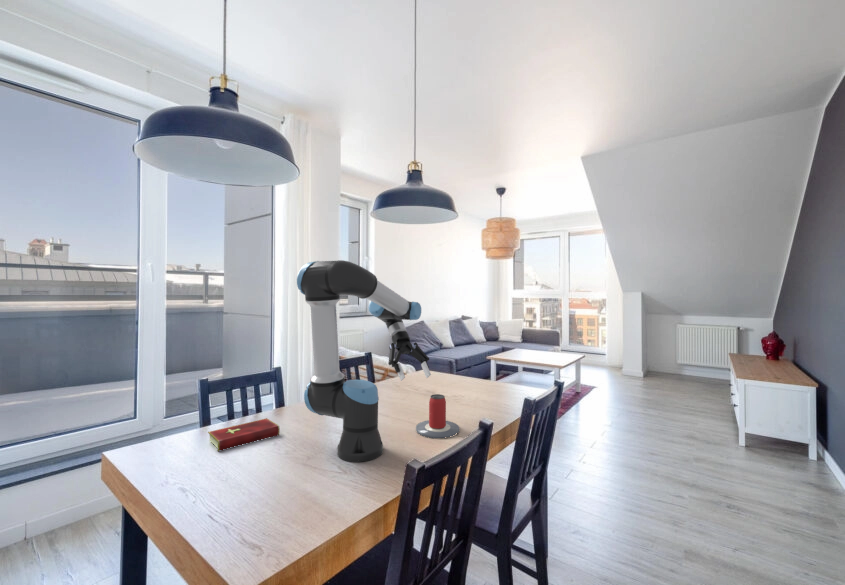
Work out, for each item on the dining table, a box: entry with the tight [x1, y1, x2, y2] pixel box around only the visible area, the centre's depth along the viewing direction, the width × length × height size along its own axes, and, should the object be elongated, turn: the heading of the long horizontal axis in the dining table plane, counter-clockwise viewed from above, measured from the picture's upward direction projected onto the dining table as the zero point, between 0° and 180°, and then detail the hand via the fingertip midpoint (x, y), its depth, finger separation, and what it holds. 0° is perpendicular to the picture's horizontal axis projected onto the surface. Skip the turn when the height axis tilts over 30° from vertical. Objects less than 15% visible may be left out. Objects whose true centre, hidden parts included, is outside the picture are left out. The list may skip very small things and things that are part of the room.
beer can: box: [428, 393, 447, 429], centre depth 145 cm, size 7×7×12 cm
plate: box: [415, 419, 460, 439], centre depth 145 cm, size 17×17×1 cm
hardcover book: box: [207, 417, 281, 452], centre depth 136 cm, size 12×21×4 cm, turn 134°
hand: (416, 377), depth 152 cm, fingers open, 13 cm apart
